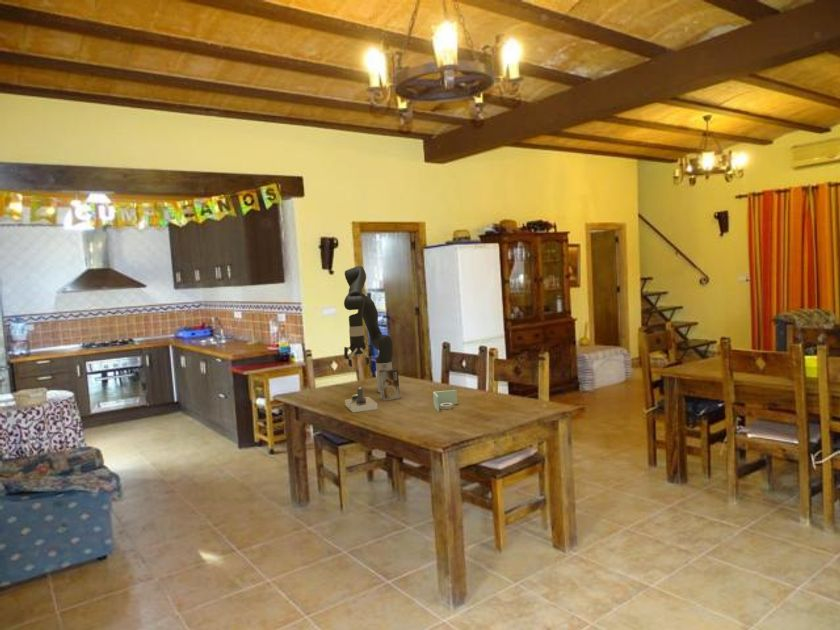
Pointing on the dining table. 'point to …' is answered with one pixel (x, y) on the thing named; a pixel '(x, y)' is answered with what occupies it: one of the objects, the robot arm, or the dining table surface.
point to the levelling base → (360, 404)
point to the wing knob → (360, 395)
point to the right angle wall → (444, 399)
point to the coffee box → (389, 384)
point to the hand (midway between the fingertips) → (358, 365)
